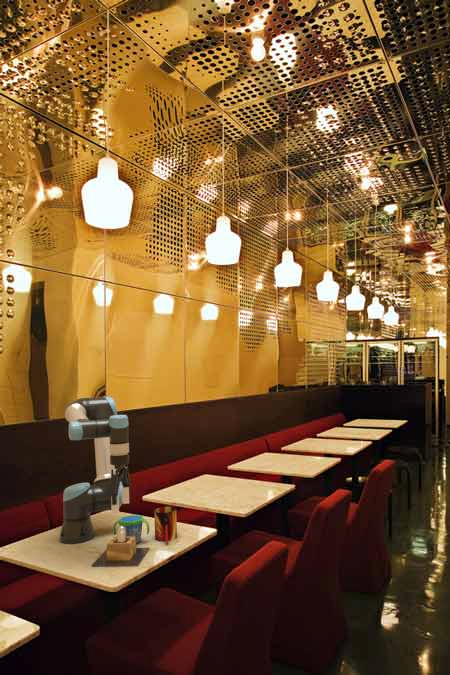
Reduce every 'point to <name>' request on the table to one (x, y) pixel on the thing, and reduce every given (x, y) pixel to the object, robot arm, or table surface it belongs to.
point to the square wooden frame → (121, 549)
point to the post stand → (132, 562)
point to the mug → (165, 524)
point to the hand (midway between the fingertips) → (120, 508)
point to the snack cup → (132, 526)
